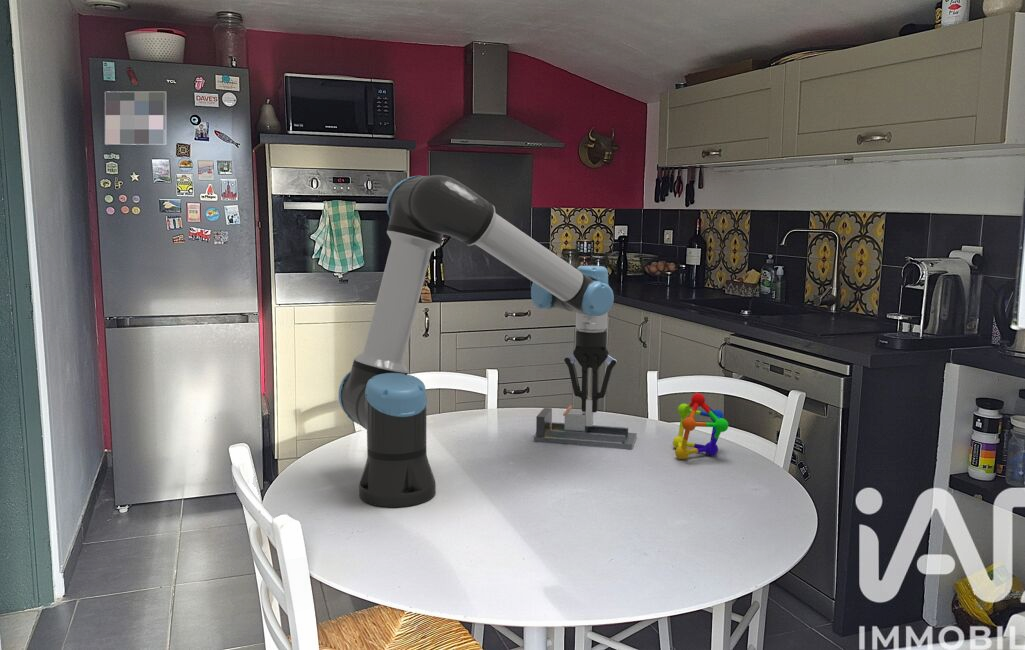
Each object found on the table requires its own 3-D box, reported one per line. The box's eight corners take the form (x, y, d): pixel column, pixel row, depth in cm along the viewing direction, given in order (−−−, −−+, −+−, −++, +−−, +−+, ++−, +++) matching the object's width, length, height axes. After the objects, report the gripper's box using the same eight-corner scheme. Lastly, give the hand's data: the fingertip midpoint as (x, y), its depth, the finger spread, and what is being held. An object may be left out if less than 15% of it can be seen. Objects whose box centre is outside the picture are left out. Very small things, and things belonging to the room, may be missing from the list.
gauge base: (533, 441, 200) (534, 416, 199) (542, 430, 210) (542, 407, 209) (632, 449, 194) (633, 424, 193) (636, 437, 204) (637, 413, 203)
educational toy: (734, 467, 185) (740, 404, 181) (678, 468, 184) (682, 405, 180) (713, 441, 200) (718, 382, 196) (661, 441, 199) (665, 383, 195)
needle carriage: (562, 436, 198) (563, 414, 198) (569, 426, 207) (570, 405, 206) (583, 438, 197) (583, 415, 196) (589, 428, 206) (589, 406, 205)
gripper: (561, 331, 196) (560, 426, 199) (616, 333, 192) (613, 430, 196) (567, 326, 203) (566, 419, 206) (620, 328, 200) (617, 422, 203)
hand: (589, 424), depth 201 cm, fingers closed
